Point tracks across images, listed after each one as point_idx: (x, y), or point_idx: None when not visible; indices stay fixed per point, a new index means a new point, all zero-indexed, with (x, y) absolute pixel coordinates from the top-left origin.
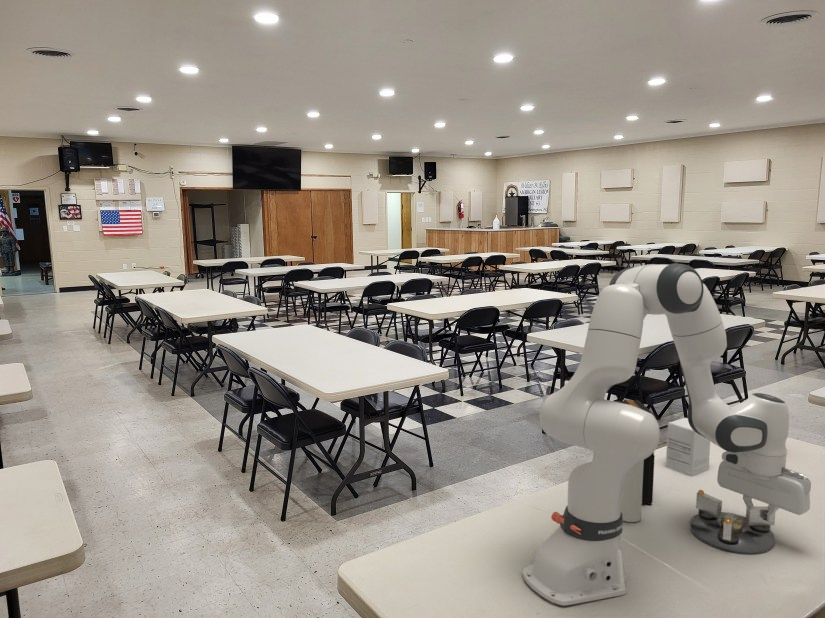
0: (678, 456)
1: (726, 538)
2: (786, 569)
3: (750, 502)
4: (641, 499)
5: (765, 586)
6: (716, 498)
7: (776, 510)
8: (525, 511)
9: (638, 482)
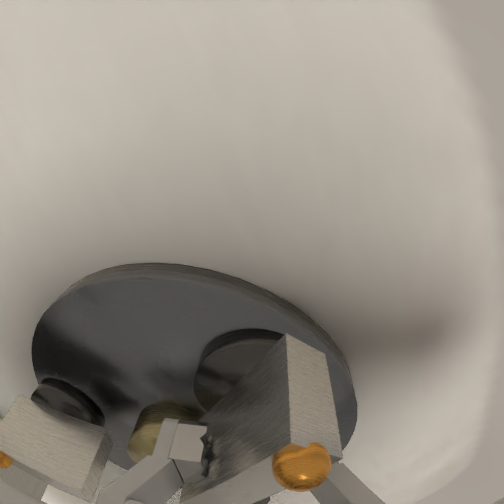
0: None
1: None
2: (416, 439)
3: (155, 489)
4: (26, 487)
5: (385, 492)
6: (53, 479)
7: (366, 495)
8: None
9: None
